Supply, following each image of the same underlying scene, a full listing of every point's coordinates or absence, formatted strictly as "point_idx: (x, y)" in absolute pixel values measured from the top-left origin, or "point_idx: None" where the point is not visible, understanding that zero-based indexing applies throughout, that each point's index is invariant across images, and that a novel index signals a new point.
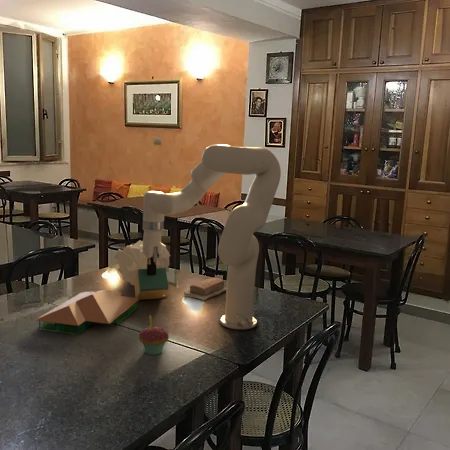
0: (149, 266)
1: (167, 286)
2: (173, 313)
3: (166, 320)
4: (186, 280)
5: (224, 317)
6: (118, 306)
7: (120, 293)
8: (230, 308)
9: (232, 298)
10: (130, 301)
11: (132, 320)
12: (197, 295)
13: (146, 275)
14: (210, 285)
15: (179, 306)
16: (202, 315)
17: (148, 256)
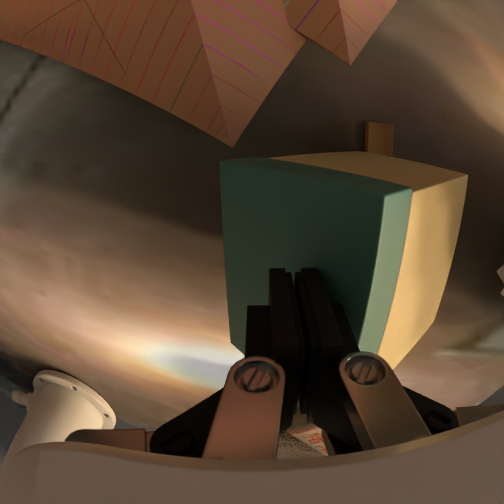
0: (271, 347)
1: (236, 344)
2: (136, 281)
3: (66, 236)
4: (471, 377)
5: (80, 393)
6: (73, 24)
7: (336, 47)
8: (29, 412)
9: (17, 434)
10: (162, 82)
11: (75, 97)
12: (298, 400)
13: (305, 255)
14: (317, 449)
15: (220, 324)
16: (119, 360)
17: (7, 464)
